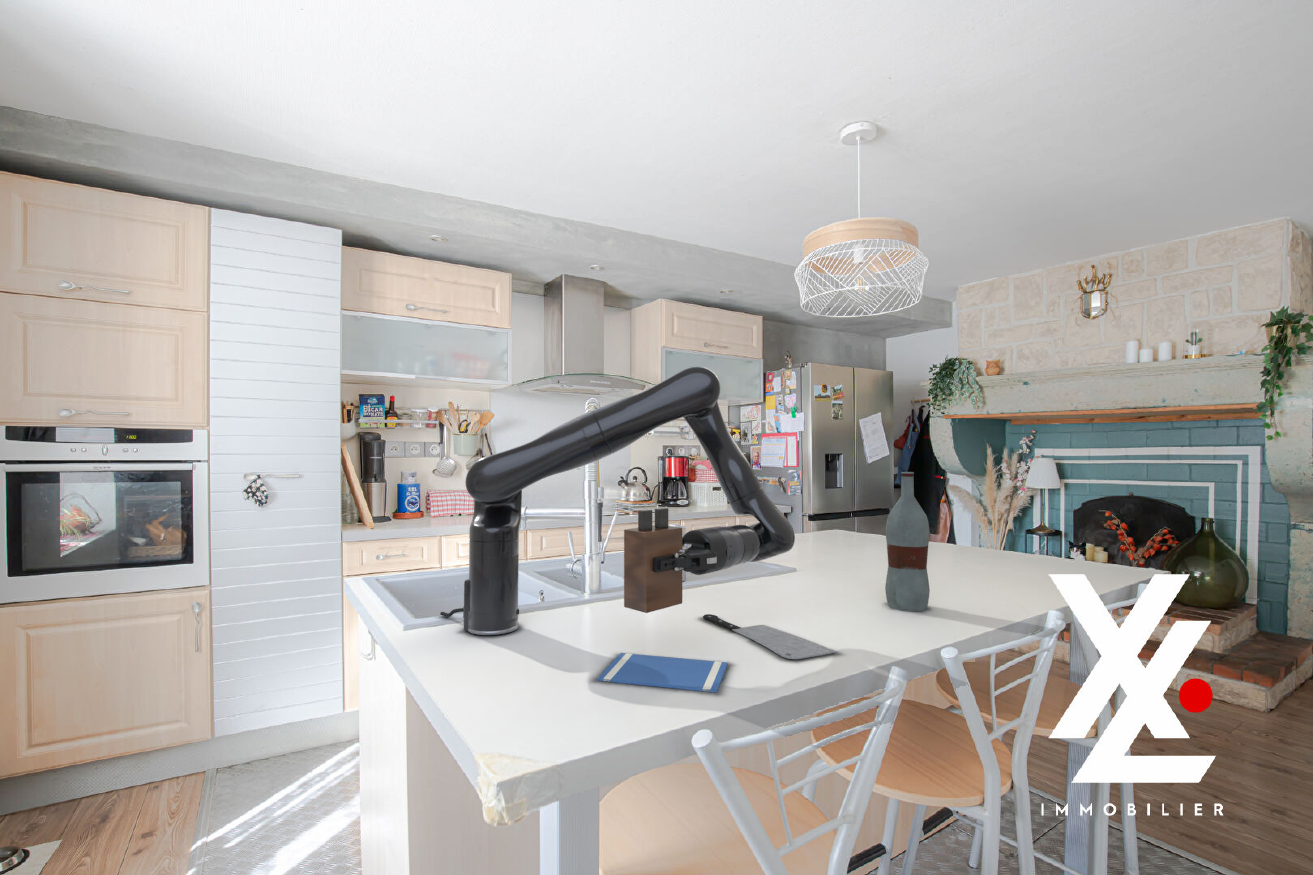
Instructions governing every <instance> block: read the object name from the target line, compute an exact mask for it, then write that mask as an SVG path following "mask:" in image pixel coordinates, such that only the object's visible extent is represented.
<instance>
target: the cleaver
mask: <svg viewBox="0 0 1313 875" xmlns="http://www.w3.org/2000/svg"><path fill="white" fill-rule="evenodd" d="M702 619H704V620H706V621H707V622H710V623H713V624H715V625H717V626H720V627H722V628H724V629H726V630H729V631H732V632H735V633H737V634H740V635H742V636H744V637H746V638H748V639H750V640H752V641H754V642H756V643H758V644H759V645H761V646H763V647H765V648H766V649H769V650H770V651H772V652H773V653H775V654H777V655H778V656H780V657H782V658H784V659H788V660H789V659H790V660H801V659H802V660H803V659H808V658H813V657H818V656H819V657H820V656H825V655H830V654H835V653H837V651H836V650H833V649H831V648H828V647H827V646H824V645H821V644H819V643H816V642H814V641H811V640H809V639H806V638H803V637H800V636H797V635H795V634H792V633H788V632H787V631H784V630H780V629H778V628H775V627H771V626H769V625H766V624H757V625H750V626H744V627H741V626H738V625H735V624H733V623H731V622H728V621H726V620H723V619H721V618H720V617H719V616H718V615H715V614H710V613H707V614H704V615H702Z"/></svg>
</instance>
